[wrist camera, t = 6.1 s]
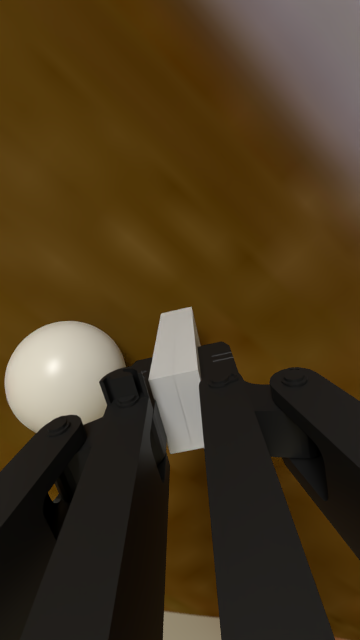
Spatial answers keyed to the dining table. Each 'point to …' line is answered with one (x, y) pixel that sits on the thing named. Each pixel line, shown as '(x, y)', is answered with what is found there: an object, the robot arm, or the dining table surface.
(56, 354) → the cue ball
